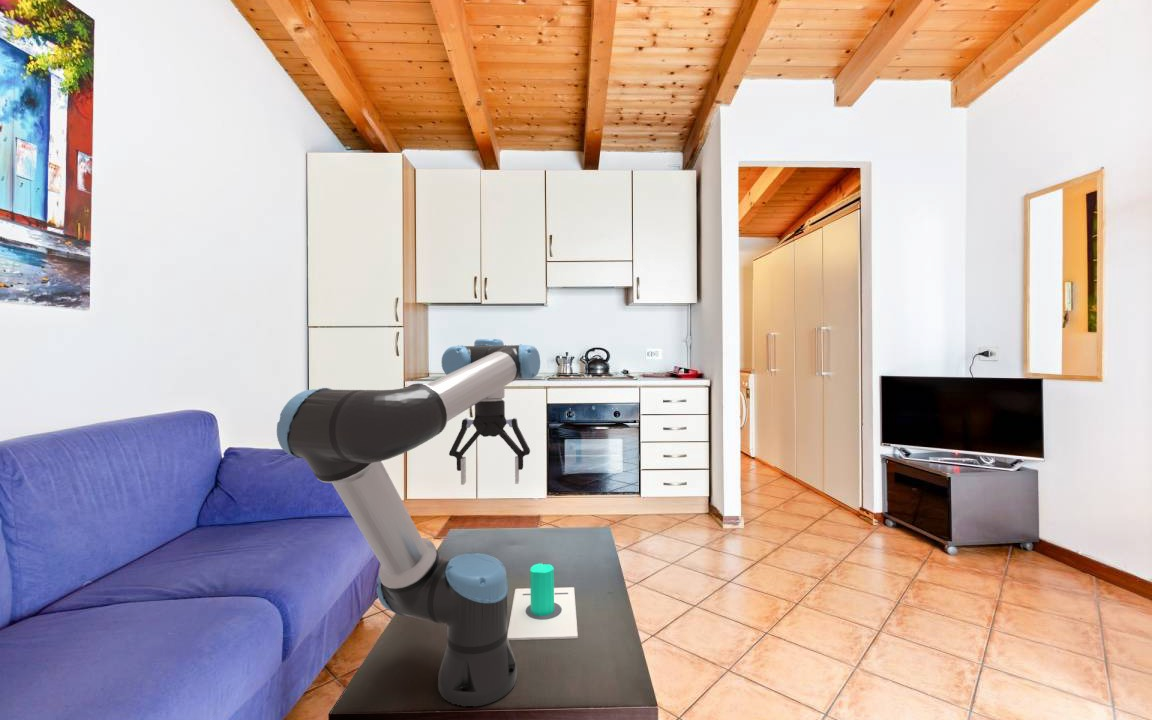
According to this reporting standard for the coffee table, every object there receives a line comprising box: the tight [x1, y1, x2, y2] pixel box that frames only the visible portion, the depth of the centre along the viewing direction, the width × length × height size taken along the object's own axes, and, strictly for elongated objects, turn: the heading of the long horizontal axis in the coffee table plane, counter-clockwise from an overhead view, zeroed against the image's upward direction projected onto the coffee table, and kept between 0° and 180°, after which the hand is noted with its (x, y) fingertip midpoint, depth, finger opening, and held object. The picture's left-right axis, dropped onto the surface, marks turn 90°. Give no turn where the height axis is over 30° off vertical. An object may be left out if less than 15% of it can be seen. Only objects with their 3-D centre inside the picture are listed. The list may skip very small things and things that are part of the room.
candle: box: [529, 563, 555, 616], centre depth 125 cm, size 6×6×12 cm
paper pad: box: [507, 586, 579, 641], centre depth 125 cm, size 24×16×1 cm, turn 2°
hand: (490, 483), depth 127 cm, fingers open, 13 cm apart
